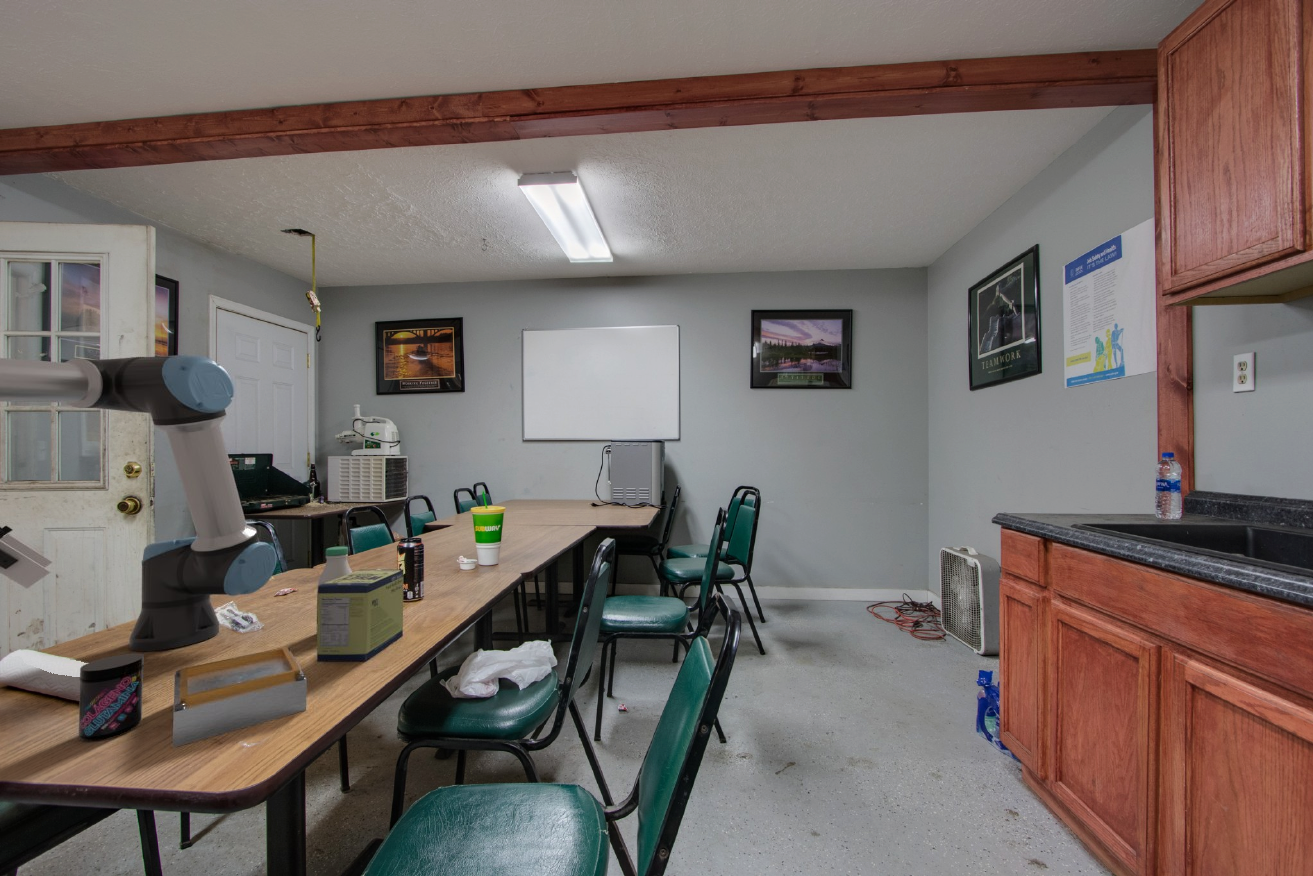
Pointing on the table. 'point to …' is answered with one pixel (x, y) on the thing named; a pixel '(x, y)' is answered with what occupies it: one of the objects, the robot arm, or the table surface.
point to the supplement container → (110, 696)
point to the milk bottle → (334, 566)
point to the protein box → (359, 615)
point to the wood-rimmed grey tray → (236, 694)
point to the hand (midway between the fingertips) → (41, 574)
